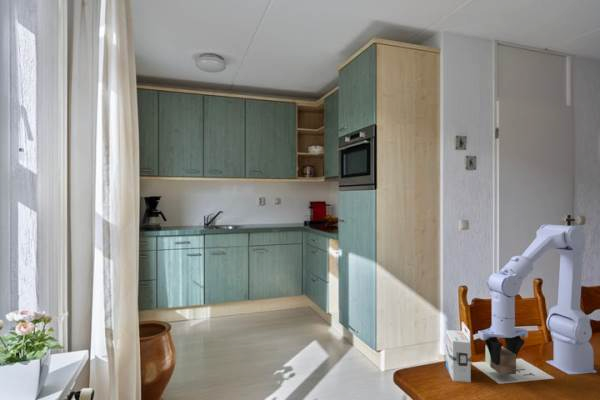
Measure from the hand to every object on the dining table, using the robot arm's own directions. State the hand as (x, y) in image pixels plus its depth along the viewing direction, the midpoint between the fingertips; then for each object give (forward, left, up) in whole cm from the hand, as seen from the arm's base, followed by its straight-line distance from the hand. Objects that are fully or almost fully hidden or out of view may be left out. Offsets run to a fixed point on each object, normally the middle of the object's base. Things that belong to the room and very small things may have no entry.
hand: (503, 362), depth 95 cm
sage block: (-3, -6, -4) cm, 8 cm away
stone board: (-5, -3, -4) cm, 7 cm away
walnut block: (0, 0, -2) cm, 2 cm away
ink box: (+12, -4, -5) cm, 13 cm away
